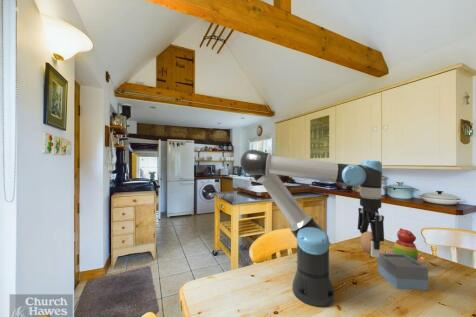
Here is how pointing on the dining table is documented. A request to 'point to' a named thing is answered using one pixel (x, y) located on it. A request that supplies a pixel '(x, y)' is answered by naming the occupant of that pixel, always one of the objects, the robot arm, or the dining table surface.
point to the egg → (366, 241)
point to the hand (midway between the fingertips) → (369, 252)
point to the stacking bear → (406, 244)
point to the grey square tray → (403, 271)
